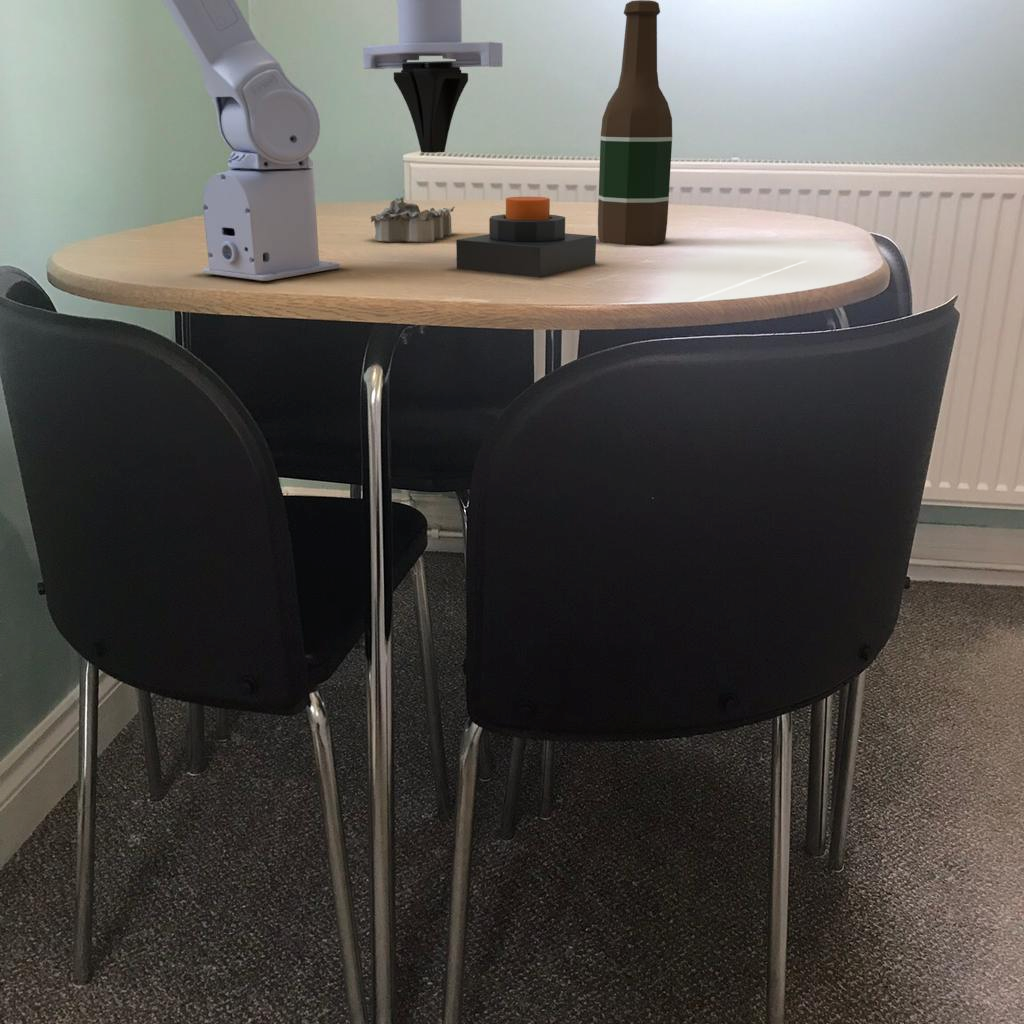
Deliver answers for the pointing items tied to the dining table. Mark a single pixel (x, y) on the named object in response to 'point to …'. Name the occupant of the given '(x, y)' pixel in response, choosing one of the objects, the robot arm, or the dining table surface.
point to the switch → (527, 208)
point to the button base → (526, 248)
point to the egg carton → (411, 223)
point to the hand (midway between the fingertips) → (432, 152)
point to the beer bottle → (636, 141)
